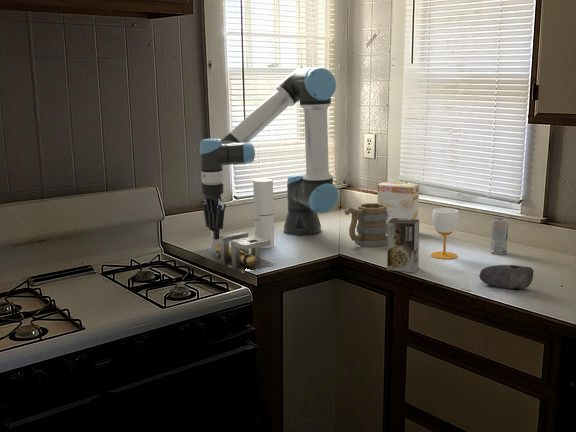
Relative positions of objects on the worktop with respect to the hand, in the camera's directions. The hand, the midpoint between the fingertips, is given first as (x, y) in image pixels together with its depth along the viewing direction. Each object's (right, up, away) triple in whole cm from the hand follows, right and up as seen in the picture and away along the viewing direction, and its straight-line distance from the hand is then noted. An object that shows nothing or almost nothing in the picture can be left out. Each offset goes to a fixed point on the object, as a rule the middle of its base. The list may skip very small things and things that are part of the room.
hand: (215, 247), depth 231 cm
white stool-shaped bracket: (+14, -5, -18) cm, 23 cm away
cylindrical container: (+18, 0, +7) cm, 19 cm away
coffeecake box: (+70, +5, +25) cm, 74 cm away
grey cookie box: (+64, -6, -23) cm, 68 cm away
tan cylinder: (+9, -4, -12) cm, 15 cm away
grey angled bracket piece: (+8, -3, -10) cm, 13 cm away
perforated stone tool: (+90, -10, -42) cm, 100 cm away
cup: (+80, -3, -9) cm, 81 cm away
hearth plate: (+7, -4, -9) cm, 12 cm away
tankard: (+55, +1, +9) cm, 56 cm away
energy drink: (+100, -2, -7) cm, 100 cm away
